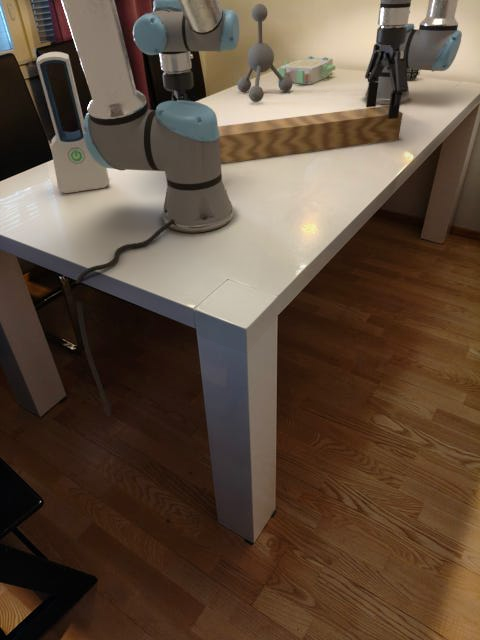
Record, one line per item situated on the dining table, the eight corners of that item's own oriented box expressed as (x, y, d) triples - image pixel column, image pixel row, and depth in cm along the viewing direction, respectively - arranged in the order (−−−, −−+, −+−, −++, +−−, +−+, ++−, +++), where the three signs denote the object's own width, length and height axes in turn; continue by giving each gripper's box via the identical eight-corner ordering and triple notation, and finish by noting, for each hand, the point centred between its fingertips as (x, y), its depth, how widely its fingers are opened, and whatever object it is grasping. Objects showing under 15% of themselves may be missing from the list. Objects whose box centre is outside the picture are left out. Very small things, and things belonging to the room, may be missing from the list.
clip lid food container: (301, 54, 217) (341, 57, 207) (300, 70, 221) (340, 74, 211) (269, 65, 201) (312, 69, 191) (269, 82, 205) (311, 87, 195)
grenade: (402, 81, 196) (406, 53, 190) (402, 77, 200) (406, 50, 194) (419, 81, 194) (424, 53, 188) (419, 78, 199) (423, 50, 193)
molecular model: (306, 97, 183) (309, 2, 165) (252, 105, 177) (249, 8, 159) (279, 85, 201) (279, -2, 182) (229, 92, 195) (224, 3, 177)
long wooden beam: (174, 169, 131) (171, 142, 126) (170, 159, 138) (167, 132, 133) (398, 139, 141) (402, 113, 137) (385, 131, 148) (388, 105, 143)
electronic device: (59, 194, 121) (20, 60, 103) (60, 183, 127) (23, 54, 108) (110, 187, 123) (80, 54, 105) (108, 176, 129) (80, 48, 111)
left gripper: (199, 78, 113) (208, 172, 127) (185, 61, 130) (194, 147, 144) (167, 81, 112) (179, 176, 126) (157, 64, 128) (169, 150, 142)
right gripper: (431, 30, 118) (415, 122, 130) (383, 20, 137) (373, 101, 150) (403, 32, 116) (390, 125, 129) (358, 22, 136) (351, 103, 149)
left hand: (187, 160), depth 135 cm, fingers closed on long wooden beam, 9 cm apart
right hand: (381, 112), depth 139 cm, fingers open, 13 cm apart
